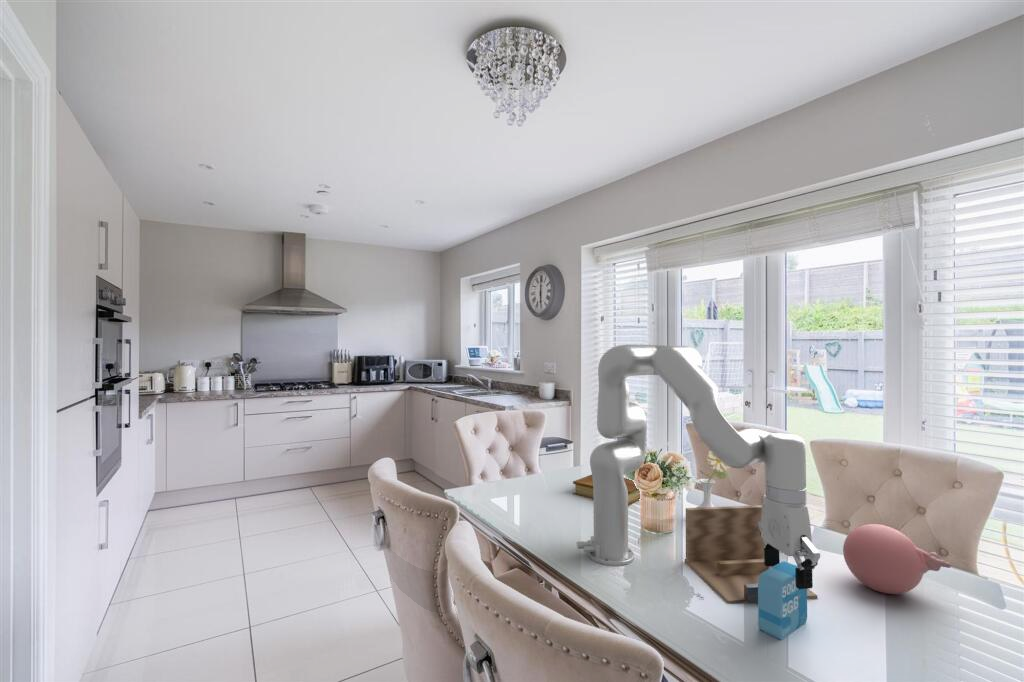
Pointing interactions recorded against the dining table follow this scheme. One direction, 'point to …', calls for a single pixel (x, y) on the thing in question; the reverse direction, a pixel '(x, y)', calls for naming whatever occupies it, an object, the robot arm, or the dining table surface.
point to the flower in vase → (709, 483)
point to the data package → (780, 601)
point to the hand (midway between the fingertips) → (787, 576)
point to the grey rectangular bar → (751, 592)
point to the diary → (586, 489)
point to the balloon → (887, 559)
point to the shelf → (727, 548)
